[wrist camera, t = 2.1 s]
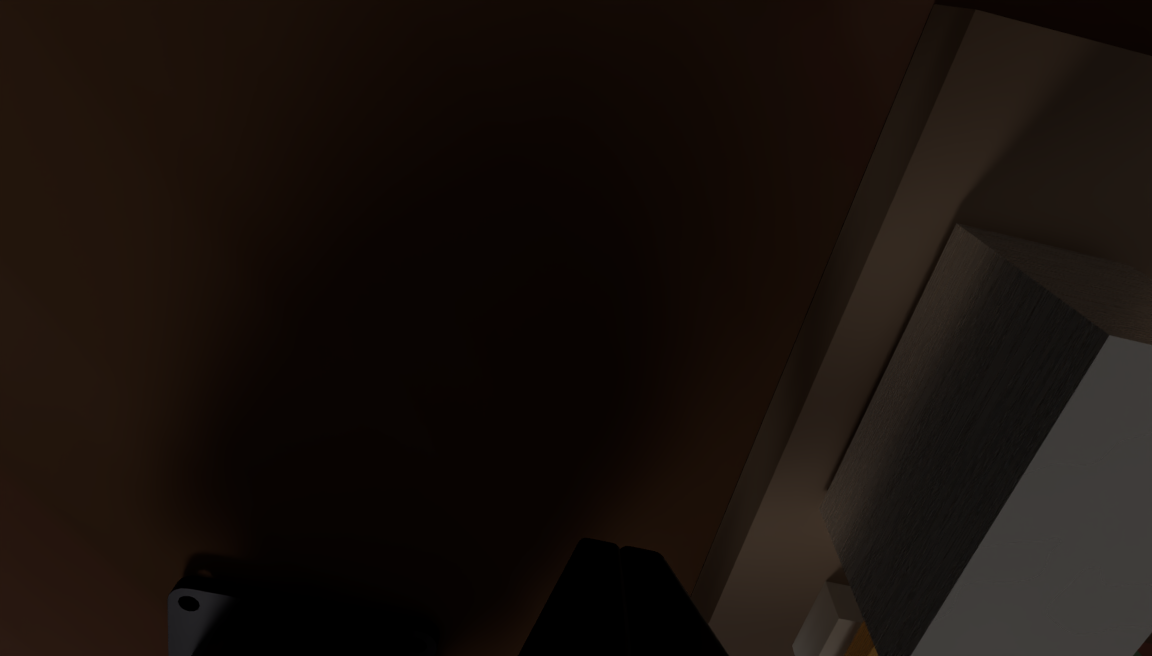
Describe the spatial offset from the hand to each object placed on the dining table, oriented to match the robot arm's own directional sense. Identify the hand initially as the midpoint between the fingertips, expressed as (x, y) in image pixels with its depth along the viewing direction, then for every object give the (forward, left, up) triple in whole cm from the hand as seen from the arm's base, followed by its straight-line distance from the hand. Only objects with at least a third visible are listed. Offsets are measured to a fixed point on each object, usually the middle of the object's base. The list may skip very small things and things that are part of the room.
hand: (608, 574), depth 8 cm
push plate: (-2, -7, -6) cm, 9 cm away
